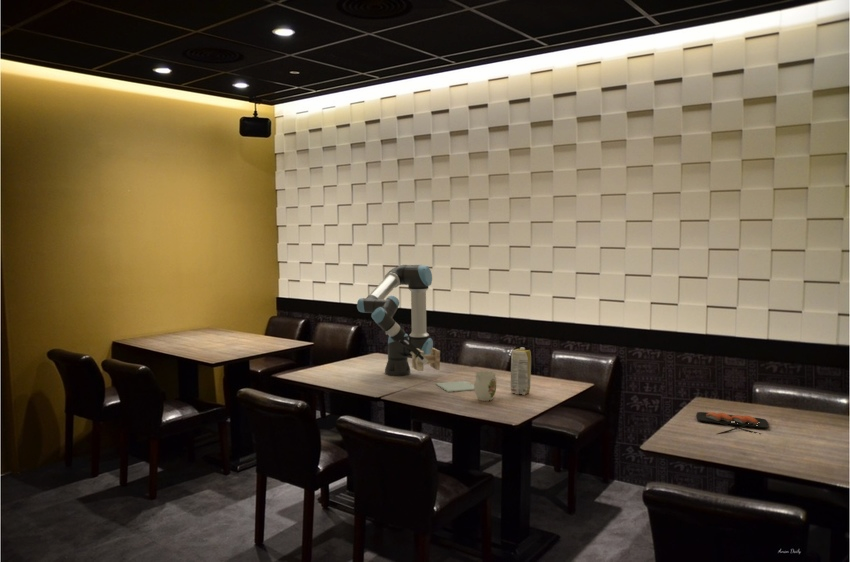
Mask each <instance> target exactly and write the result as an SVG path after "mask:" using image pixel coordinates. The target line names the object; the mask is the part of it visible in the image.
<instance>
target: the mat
mask: <svg viewBox="0 0 850 562" xmlns="http://www.w3.org/2000/svg"><path fill="white" fill-rule="evenodd" d="M435 385H436V386H437V385H438V386H437V387H439V388H440V387H441V390H443V389H444V391H445V390H446V391H445V392H447V393H454V392H453V391H459V392H469V391H468V390H472V391H475V389H474V384H472V383H471V382H469V381H467V380H464V381H449V382H448V381H447V382H437V383H436V382H435Z"/></svg>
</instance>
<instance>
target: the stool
mask: <svg viewBox="0 0 850 562" xmlns="http://www.w3.org/2000/svg"><path fill="white" fill-rule="evenodd" d="M417 349H418V348H417ZM418 350H419V351H420V352H421V354H422V355H423V356H424V357H425V358H426V359H427V360H428V362H427V364H428V365H429V366H430V367H431V368H433V369H434V370H436V371H440V367H441V365H440V364H441V363H440V362H441V350H439V349H437V348H435V347H433V348H431V354H427V355H424V351H422V350H420V349H418ZM427 364H426V365H427ZM424 366H425V365H424V364H423V363H422V362H421V361H420V360H419V358H418V357H417V358H416V355H415V354H414V353H413V352H412V357H411V367H412V368H413V369H414V370H416V371H417V372H421V371H424Z"/></svg>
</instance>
